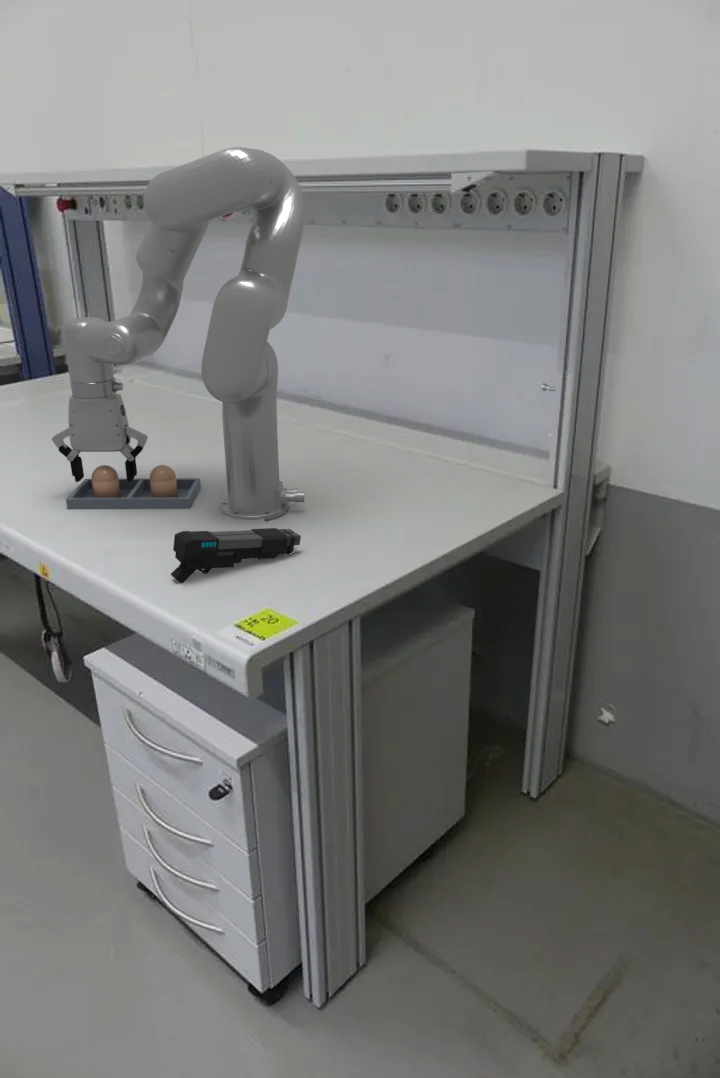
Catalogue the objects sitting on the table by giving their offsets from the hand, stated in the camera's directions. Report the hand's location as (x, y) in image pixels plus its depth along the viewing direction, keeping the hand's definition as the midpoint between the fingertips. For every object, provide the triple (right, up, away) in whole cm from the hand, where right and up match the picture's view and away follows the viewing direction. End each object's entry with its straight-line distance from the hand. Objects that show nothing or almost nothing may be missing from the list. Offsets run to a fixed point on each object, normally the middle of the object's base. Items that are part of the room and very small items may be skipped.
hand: (105, 479), depth 151 cm
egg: (0, -3, +1) cm, 4 cm away
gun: (+29, -16, -25) cm, 41 cm away
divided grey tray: (+5, -4, +2) cm, 7 cm away
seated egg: (+11, -3, +2) cm, 11 cm away
